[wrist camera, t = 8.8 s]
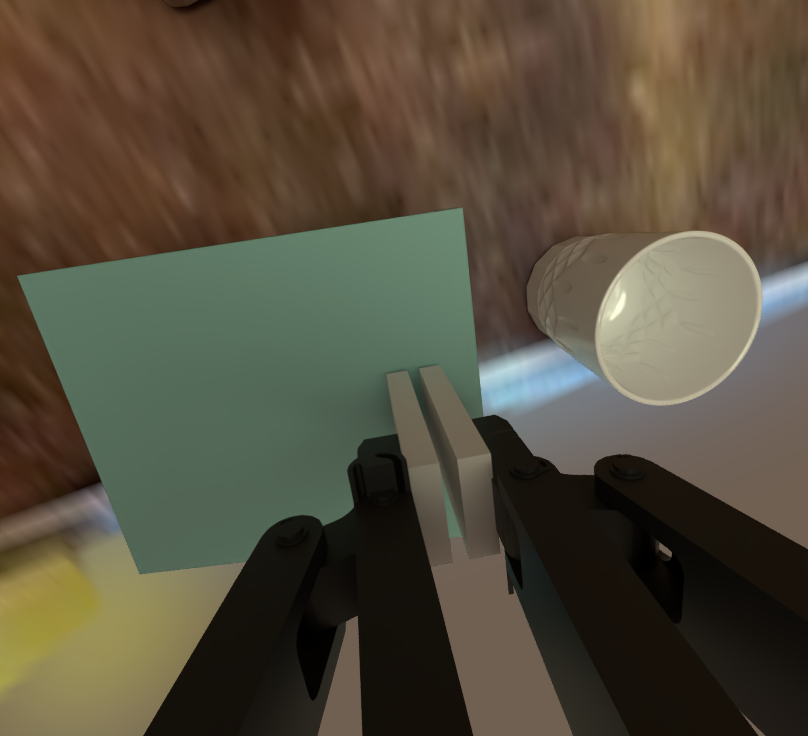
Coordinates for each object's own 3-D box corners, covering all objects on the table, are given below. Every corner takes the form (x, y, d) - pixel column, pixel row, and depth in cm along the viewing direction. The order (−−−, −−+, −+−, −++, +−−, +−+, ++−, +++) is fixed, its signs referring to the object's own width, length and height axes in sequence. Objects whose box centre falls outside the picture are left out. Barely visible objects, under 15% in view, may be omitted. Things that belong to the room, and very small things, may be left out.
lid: (168, 535, 22) (139, 574, 20) (68, 266, 18) (17, 276, 16) (485, 496, 21) (494, 532, 19) (454, 207, 17) (462, 207, 15)
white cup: (535, 366, 31) (617, 431, 22) (500, 255, 29) (576, 274, 19) (643, 321, 31) (772, 366, 22) (618, 206, 29) (752, 201, 19)
